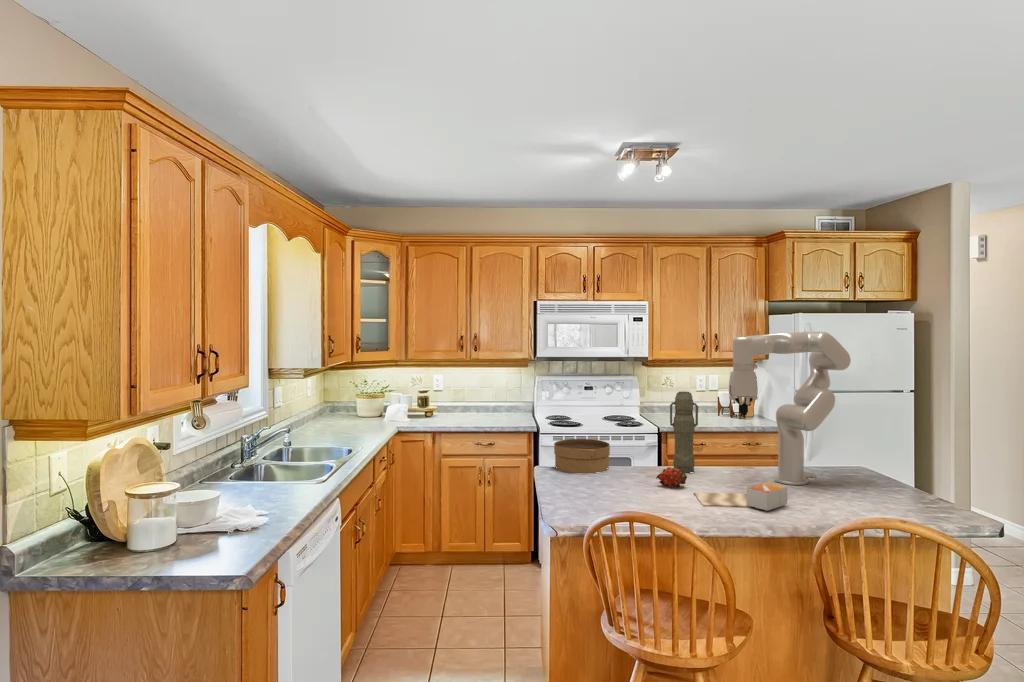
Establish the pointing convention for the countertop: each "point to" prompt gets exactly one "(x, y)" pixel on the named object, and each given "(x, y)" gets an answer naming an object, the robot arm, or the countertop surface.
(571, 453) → the steamer basket
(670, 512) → the countertop surface
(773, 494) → the small box
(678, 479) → the dragon fruit
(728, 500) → the maple board
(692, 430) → the thermos
